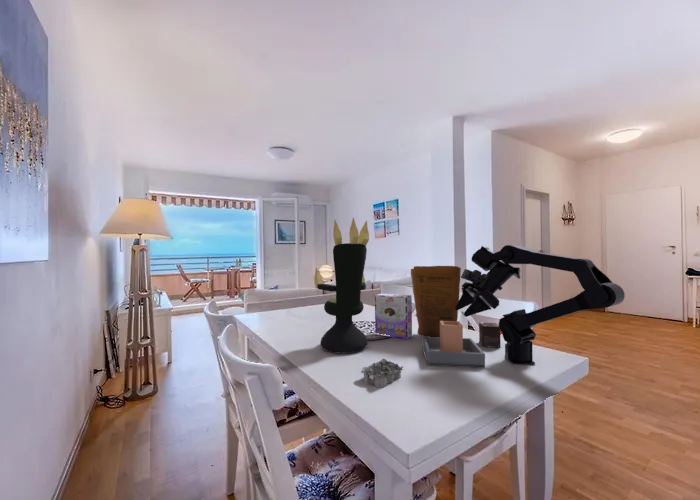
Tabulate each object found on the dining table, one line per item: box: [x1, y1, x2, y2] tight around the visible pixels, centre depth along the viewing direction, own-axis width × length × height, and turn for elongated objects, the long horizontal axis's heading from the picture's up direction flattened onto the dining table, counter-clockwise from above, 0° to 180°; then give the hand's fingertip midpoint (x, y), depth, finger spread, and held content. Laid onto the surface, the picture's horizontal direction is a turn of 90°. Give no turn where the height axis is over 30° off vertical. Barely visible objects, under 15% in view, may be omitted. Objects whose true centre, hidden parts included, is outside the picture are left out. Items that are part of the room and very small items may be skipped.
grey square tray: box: [422, 336, 486, 369], centre depth 99 cm, size 16×16×4 cm
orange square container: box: [440, 320, 464, 352], centre depth 99 cm, size 6×6×10 cm
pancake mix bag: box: [410, 265, 462, 337], centre depth 122 cm, size 7×19×28 cm, turn 55°
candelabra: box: [313, 216, 370, 354], centre depth 108 cm, size 19×22×45 cm
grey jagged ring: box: [361, 358, 404, 388], centre depth 83 cm, size 11×8×4 cm
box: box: [478, 322, 501, 348], centre depth 112 cm, size 6×6×7 cm
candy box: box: [374, 292, 413, 341], centre depth 124 cm, size 14×6×16 cm, turn 58°
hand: (459, 312), depth 101 cm, fingers open, 9 cm apart
